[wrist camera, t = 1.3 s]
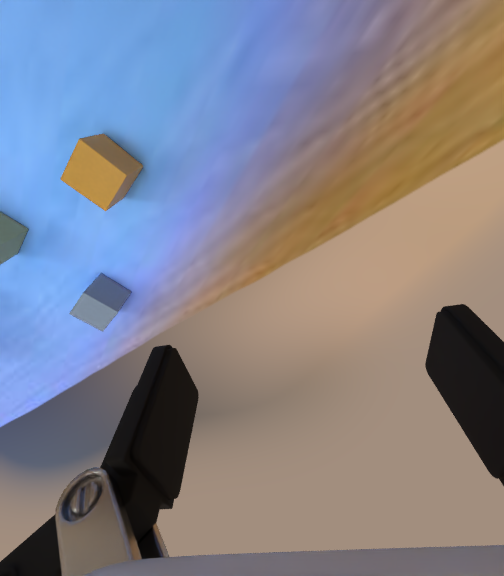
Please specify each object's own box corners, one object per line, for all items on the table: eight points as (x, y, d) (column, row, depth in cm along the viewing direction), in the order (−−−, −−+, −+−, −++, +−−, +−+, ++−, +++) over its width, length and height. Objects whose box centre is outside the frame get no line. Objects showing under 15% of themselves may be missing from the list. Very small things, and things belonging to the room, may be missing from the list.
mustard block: (84, 170, 30) (59, 180, 26) (103, 133, 28) (79, 138, 24) (123, 198, 32) (105, 212, 28) (143, 165, 29) (126, 175, 26)
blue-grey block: (87, 293, 39) (68, 314, 35) (101, 273, 37) (83, 292, 33) (116, 310, 41) (102, 332, 37) (131, 291, 39) (118, 312, 35)
